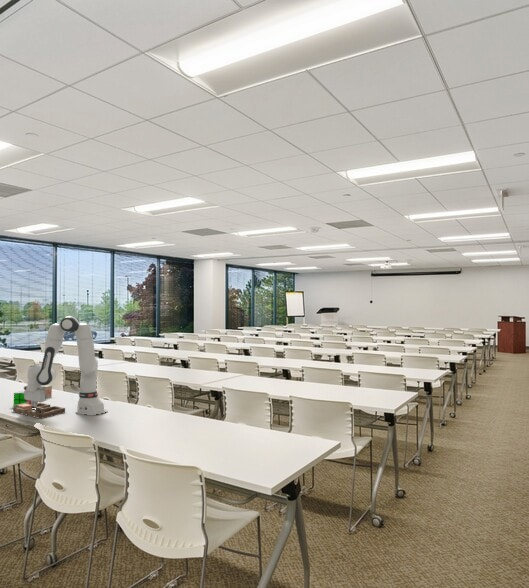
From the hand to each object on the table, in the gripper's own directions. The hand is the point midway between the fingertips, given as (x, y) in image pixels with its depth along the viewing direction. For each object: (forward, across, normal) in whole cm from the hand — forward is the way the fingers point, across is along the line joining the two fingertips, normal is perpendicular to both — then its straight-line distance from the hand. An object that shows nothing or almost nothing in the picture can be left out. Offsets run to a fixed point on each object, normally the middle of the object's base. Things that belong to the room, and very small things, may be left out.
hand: (34, 407), depth 314 cm
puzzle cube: (+4, +30, -9) cm, 32 cm away
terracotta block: (+4, +11, +1) cm, 12 cm away
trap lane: (+4, 0, -4) cm, 6 cm away
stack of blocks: (+4, +52, -34) cm, 63 cm away
